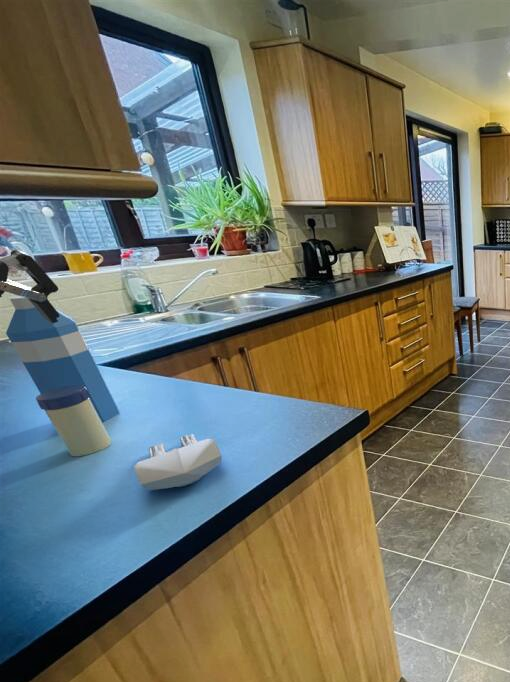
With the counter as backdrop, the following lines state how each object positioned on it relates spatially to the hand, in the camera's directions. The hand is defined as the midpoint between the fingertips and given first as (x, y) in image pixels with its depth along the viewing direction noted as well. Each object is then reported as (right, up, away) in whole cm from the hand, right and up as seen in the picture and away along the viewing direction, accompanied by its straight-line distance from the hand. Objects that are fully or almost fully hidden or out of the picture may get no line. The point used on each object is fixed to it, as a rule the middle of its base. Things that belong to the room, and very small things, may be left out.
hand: (16, 335), depth 58 cm
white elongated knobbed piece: (+19, -21, +6) cm, 29 cm away
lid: (-3, -9, +9) cm, 13 cm away
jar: (-3, -19, +13) cm, 23 cm away
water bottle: (-14, -14, +24) cm, 31 cm away
